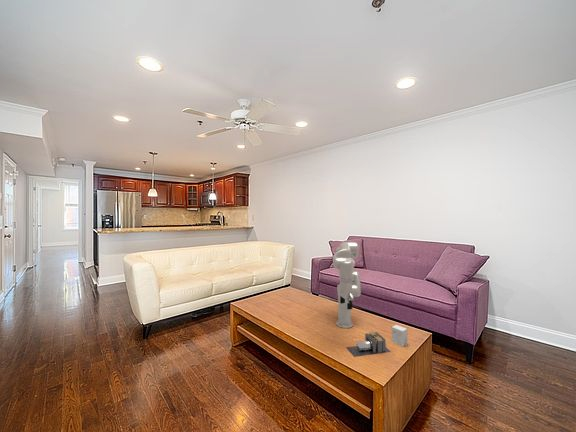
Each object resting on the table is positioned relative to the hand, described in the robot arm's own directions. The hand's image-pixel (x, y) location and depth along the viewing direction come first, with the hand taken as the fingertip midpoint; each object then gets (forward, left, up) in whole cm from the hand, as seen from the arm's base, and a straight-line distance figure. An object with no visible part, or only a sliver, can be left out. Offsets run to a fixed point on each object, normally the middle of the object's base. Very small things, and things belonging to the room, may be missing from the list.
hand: (346, 306), depth 166 cm
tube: (+8, +14, -25) cm, 30 cm away
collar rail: (+8, +11, -26) cm, 30 cm away
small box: (+5, +36, -26) cm, 45 cm away
